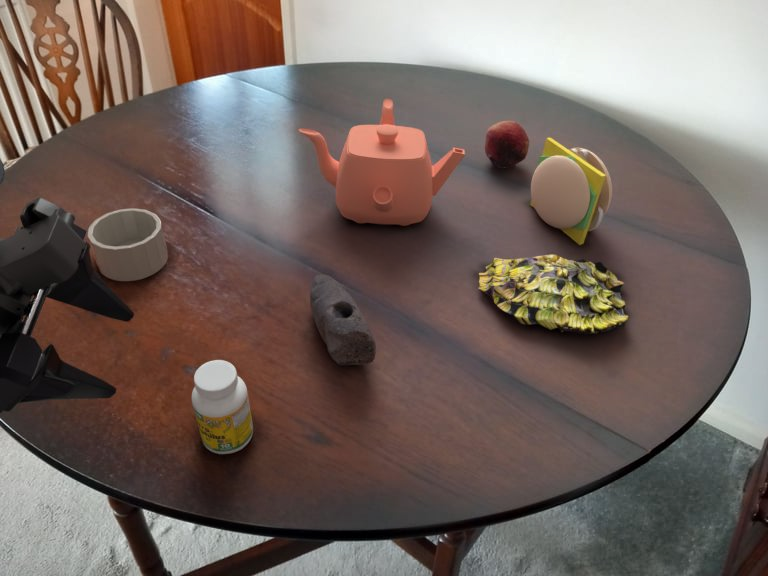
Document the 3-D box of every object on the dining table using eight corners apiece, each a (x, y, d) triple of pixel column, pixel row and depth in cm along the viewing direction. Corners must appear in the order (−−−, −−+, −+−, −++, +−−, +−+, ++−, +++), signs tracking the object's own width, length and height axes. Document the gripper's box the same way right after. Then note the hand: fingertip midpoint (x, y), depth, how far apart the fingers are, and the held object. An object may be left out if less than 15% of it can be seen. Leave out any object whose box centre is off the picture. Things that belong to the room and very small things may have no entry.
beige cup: (95, 285, 82) (84, 252, 78) (101, 243, 89) (91, 211, 85) (167, 276, 84) (160, 244, 80) (168, 236, 90) (161, 205, 87)
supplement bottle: (263, 427, 66) (255, 368, 60) (230, 465, 63) (218, 406, 56) (224, 406, 68) (212, 346, 62) (190, 441, 65) (174, 382, 58)
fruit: (523, 156, 114) (532, 116, 108) (526, 178, 108) (535, 136, 103) (480, 152, 114) (487, 112, 109) (481, 174, 108) (489, 132, 103)
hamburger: (609, 235, 96) (633, 167, 88) (568, 248, 93) (589, 179, 85) (558, 196, 104) (576, 130, 96) (519, 207, 101) (534, 141, 93)
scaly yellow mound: (465, 324, 81) (467, 278, 78) (486, 277, 95) (488, 237, 92) (628, 345, 75) (636, 296, 72) (624, 292, 89) (631, 249, 87)
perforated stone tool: (299, 301, 81) (297, 260, 77) (337, 293, 83) (337, 252, 78) (336, 385, 71) (335, 343, 67) (378, 373, 73) (381, 332, 68)
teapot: (301, 203, 99) (297, 123, 90) (384, 166, 109) (388, 90, 100) (379, 258, 89) (384, 174, 80) (462, 211, 99) (475, 132, 90)
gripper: (-64, 285, 37) (163, 388, 46) (27, 136, 51) (188, 237, 60) (-141, 380, 41) (81, 459, 50) (-38, 219, 55) (122, 302, 64)
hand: (123, 353), depth 56 cm, fingers open, 9 cm apart
